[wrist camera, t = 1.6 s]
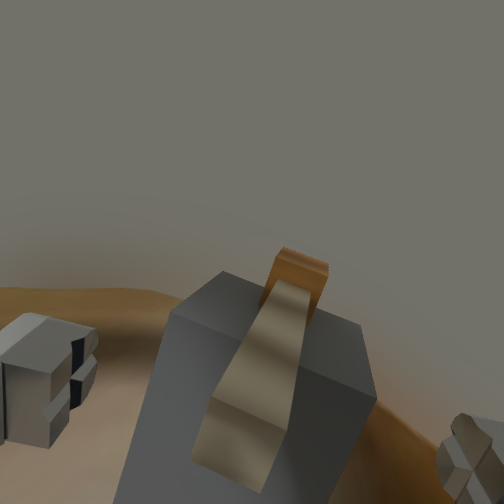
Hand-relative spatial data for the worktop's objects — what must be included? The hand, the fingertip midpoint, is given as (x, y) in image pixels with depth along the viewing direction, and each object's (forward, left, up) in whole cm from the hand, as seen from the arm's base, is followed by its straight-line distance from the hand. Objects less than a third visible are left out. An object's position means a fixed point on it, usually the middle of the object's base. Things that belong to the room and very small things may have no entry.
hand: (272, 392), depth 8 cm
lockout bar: (-10, +10, -6) cm, 16 cm away
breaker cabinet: (-14, +14, -32) cm, 38 cm away
